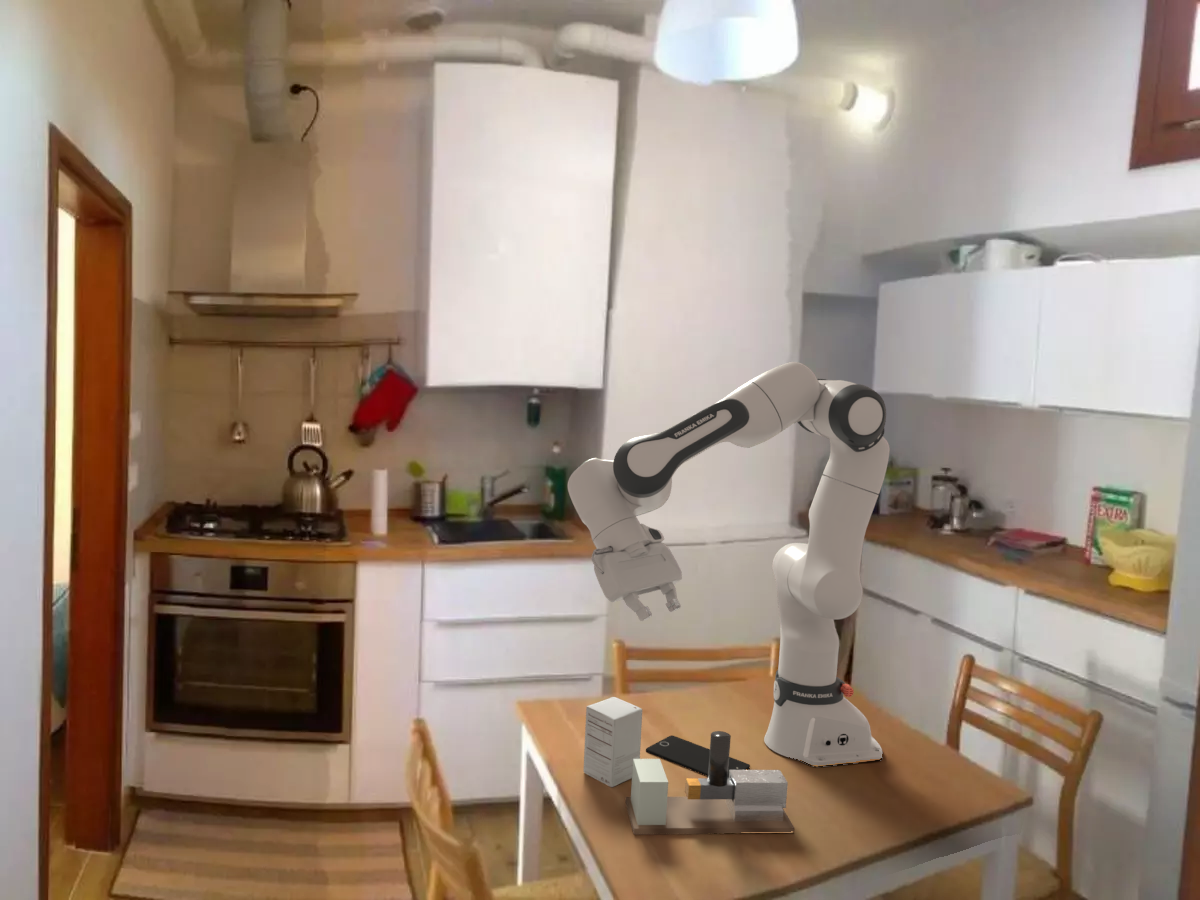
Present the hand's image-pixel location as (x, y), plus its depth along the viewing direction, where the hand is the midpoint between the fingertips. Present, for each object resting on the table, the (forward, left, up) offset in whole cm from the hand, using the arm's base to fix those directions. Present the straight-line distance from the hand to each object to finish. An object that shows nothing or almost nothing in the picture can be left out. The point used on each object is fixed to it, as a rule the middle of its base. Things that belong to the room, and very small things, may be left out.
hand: (661, 614), depth 157 cm
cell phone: (-11, -11, -32) cm, 35 cm away
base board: (-8, +10, -31) cm, 34 cm away
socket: (+2, +10, -30) cm, 32 cm away
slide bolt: (-12, +10, -27) cm, 31 cm away
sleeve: (-16, +10, -30) cm, 36 cm away
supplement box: (+6, -5, -31) cm, 32 cm away
